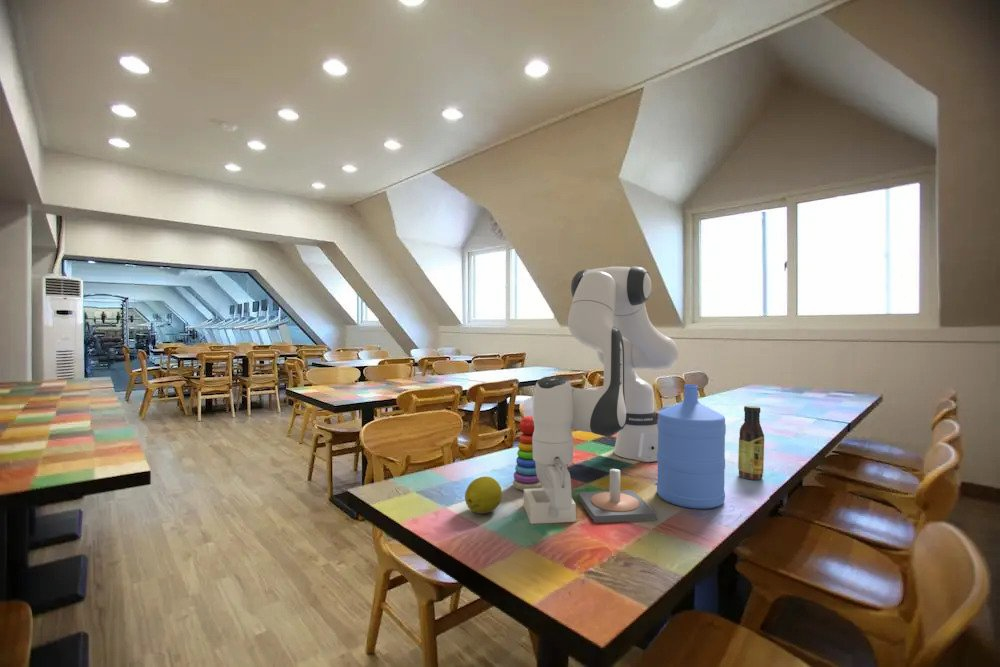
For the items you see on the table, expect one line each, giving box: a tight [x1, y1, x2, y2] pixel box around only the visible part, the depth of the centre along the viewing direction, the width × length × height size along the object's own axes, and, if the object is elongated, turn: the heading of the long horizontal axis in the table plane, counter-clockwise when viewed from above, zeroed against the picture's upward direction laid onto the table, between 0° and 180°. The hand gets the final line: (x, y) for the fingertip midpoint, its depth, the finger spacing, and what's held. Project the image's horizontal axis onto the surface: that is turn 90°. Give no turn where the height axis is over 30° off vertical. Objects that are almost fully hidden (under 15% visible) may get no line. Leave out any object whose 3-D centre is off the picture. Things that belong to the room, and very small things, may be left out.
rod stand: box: [577, 468, 657, 524], centre depth 109 cm, size 14×14×9 cm
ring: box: [523, 487, 577, 525], centre depth 107 cm, size 10×10×4 cm
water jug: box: [656, 384, 727, 510], centre depth 115 cm, size 16×16×28 cm
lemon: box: [464, 476, 503, 515], centre depth 107 cm, size 11×8×8 cm
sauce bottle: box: [737, 405, 765, 481], centre depth 130 cm, size 6×6×20 cm
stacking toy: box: [512, 415, 543, 492], centre depth 123 cm, size 8×8×19 cm
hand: (552, 513), depth 102 cm, fingers closed on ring
